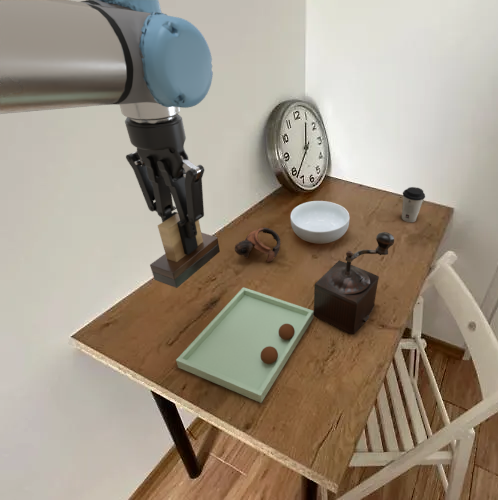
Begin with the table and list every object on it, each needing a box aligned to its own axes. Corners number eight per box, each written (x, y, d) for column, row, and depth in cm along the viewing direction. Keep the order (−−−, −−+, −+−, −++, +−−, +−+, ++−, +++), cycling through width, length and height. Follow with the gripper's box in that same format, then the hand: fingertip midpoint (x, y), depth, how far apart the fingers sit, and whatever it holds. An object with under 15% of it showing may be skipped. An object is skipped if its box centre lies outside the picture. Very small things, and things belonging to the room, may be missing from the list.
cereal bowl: (305, 215, 112) (305, 195, 108) (355, 228, 108) (357, 207, 104) (280, 243, 99) (279, 222, 95) (335, 258, 95) (337, 237, 91)
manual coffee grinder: (355, 337, 74) (365, 271, 63) (312, 315, 78) (313, 249, 67) (386, 295, 85) (399, 232, 74) (346, 277, 89) (353, 216, 78)
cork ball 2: (282, 331, 68) (272, 334, 70) (293, 341, 69) (283, 344, 71) (289, 318, 71) (279, 322, 72) (300, 328, 72) (290, 332, 73)
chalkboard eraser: (176, 288, 62) (163, 238, 56) (154, 280, 63) (138, 230, 57) (220, 251, 71) (212, 205, 65) (199, 245, 72) (190, 199, 66)
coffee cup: (406, 226, 111) (412, 197, 105) (393, 215, 116) (398, 187, 110) (424, 221, 114) (430, 193, 108) (410, 211, 119) (416, 184, 113)
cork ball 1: (262, 353, 64) (254, 358, 66) (274, 364, 64) (266, 369, 66) (271, 340, 66) (263, 346, 68) (284, 351, 66) (275, 357, 68)
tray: (261, 403, 61) (260, 395, 60) (178, 367, 65) (175, 359, 64) (313, 318, 77) (313, 310, 76) (244, 294, 82) (243, 287, 81)
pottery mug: (260, 240, 101) (272, 221, 96) (276, 266, 98) (290, 249, 93) (222, 247, 92) (234, 227, 87) (239, 277, 89) (252, 258, 84)
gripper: (214, 118, 52) (232, 248, 65) (133, 101, 56) (166, 228, 69) (177, 132, 46) (206, 272, 60) (90, 113, 50) (135, 248, 64)
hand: (184, 248), depth 65 cm, fingers closed on chalkboard eraser, 2 cm apart
